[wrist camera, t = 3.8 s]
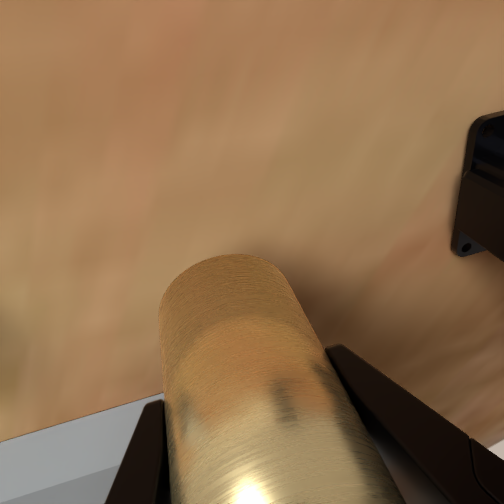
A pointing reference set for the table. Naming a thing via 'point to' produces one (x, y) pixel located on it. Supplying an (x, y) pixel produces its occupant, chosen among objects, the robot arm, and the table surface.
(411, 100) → the table surface
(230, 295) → the brass cylinder
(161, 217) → the table surface
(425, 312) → the table surface
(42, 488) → the jig
